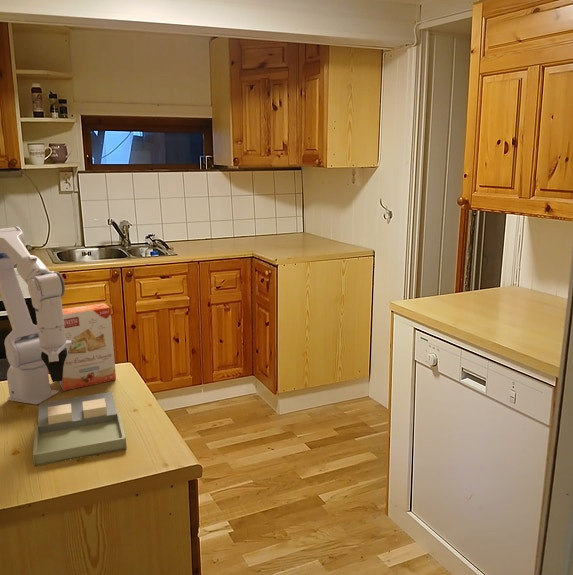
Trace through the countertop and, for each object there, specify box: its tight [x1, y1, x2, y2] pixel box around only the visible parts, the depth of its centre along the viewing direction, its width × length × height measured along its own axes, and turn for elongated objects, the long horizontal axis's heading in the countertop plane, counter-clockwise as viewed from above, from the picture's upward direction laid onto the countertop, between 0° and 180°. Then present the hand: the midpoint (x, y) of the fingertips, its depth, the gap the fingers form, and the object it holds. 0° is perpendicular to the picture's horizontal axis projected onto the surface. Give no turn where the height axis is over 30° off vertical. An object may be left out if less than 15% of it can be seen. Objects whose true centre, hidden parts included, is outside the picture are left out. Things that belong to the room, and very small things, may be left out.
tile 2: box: [82, 398, 107, 419], centre depth 137 cm, size 5×5×2 cm
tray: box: [32, 411, 128, 467], centre depth 127 cm, size 14×18×2 cm
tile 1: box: [48, 404, 72, 424], centre depth 134 cm, size 5×5×2 cm
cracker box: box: [58, 302, 117, 392], centre depth 157 cm, size 14×6×21 cm, turn 122°
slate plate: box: [37, 391, 118, 434], centre depth 139 cm, size 14×17×2 cm
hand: (57, 380), depth 139 cm, fingers closed
